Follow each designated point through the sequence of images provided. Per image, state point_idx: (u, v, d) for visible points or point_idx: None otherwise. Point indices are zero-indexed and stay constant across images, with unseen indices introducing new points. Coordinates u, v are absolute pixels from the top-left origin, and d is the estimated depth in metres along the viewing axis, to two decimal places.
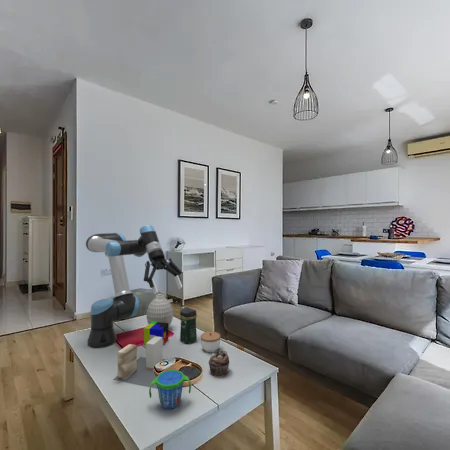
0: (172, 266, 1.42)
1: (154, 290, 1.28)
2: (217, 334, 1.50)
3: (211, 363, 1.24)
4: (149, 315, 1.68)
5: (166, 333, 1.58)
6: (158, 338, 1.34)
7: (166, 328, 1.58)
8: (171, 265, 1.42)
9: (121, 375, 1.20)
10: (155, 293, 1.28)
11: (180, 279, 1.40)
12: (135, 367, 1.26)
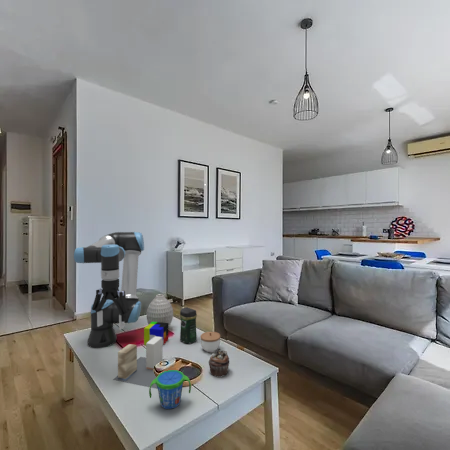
0: None
1: None
2: (217, 334, 1.50)
3: (211, 363, 1.24)
4: (149, 315, 1.68)
5: (166, 333, 1.58)
6: (158, 338, 1.34)
7: (166, 328, 1.58)
8: None
9: (121, 375, 1.20)
10: None
11: (123, 319, 1.23)
12: (135, 367, 1.26)
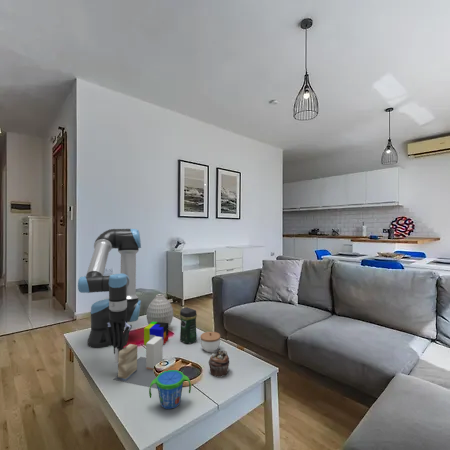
0: None
1: None
2: (217, 334, 1.50)
3: (211, 363, 1.24)
4: (149, 315, 1.68)
5: (166, 333, 1.58)
6: (158, 338, 1.34)
7: (166, 328, 1.58)
8: None
9: (121, 375, 1.20)
10: None
11: None
12: (135, 367, 1.26)
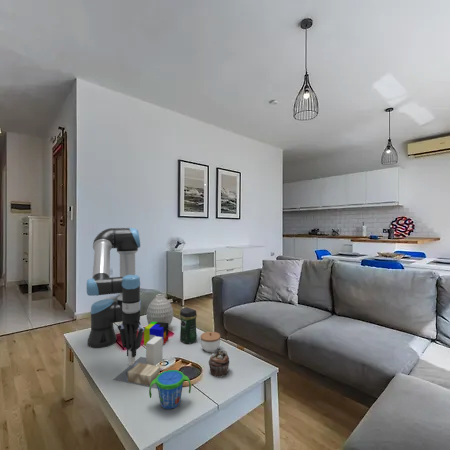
0: None
1: None
2: (217, 334, 1.50)
3: (211, 363, 1.24)
4: (149, 315, 1.68)
5: (166, 333, 1.58)
6: (158, 338, 1.34)
7: (166, 328, 1.58)
8: None
9: (129, 376, 1.19)
10: None
11: (133, 355, 1.22)
12: None
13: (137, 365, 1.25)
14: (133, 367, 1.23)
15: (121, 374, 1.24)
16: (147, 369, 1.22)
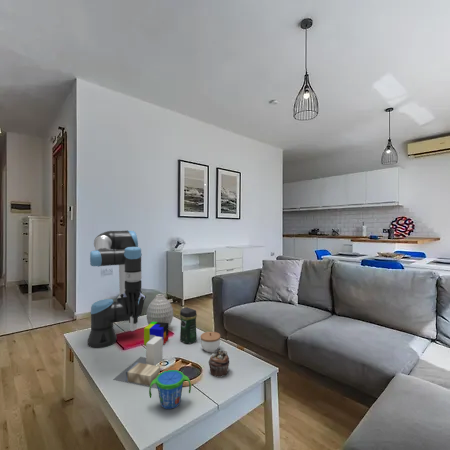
0: None
1: None
2: (217, 334, 1.50)
3: (211, 363, 1.24)
4: (149, 315, 1.68)
5: (166, 333, 1.58)
6: (158, 338, 1.34)
7: (166, 328, 1.58)
8: None
9: (129, 376, 1.19)
10: None
11: (135, 321, 1.30)
12: None
13: (137, 365, 1.25)
14: (133, 367, 1.23)
15: (121, 374, 1.24)
16: (147, 369, 1.22)
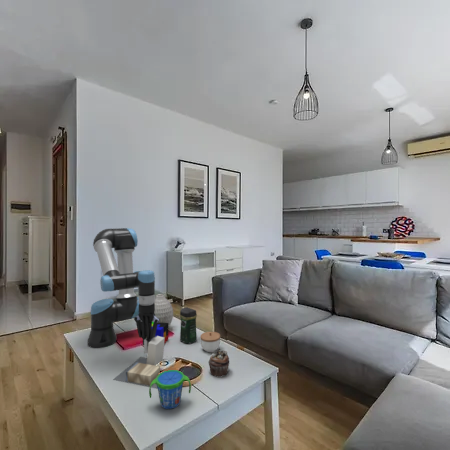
0: None
1: None
2: (217, 334, 1.50)
3: (211, 363, 1.24)
4: None
5: (166, 333, 1.58)
6: (160, 338, 1.34)
7: (166, 328, 1.58)
8: None
9: (129, 376, 1.19)
10: None
11: None
12: None
13: (137, 365, 1.25)
14: (133, 367, 1.23)
15: (121, 374, 1.24)
16: (147, 369, 1.22)
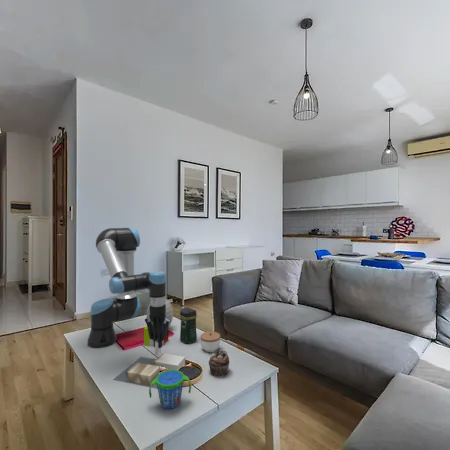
0: None
1: None
2: (217, 334, 1.50)
3: (211, 363, 1.24)
4: None
5: None
6: (183, 364, 1.31)
7: None
8: None
9: (129, 376, 1.19)
10: None
11: (160, 346, 1.31)
12: None
13: (137, 365, 1.25)
14: (133, 367, 1.23)
15: (121, 374, 1.24)
16: (147, 369, 1.22)
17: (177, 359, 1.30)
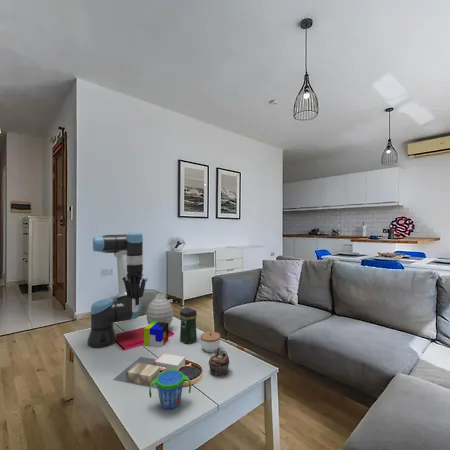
0: None
1: None
2: (217, 334, 1.50)
3: (211, 363, 1.24)
4: (149, 315, 1.68)
5: (166, 333, 1.58)
6: (183, 364, 1.31)
7: (166, 328, 1.58)
8: None
9: (129, 376, 1.19)
10: None
11: (137, 303, 1.36)
12: None
13: (137, 365, 1.25)
14: (133, 367, 1.23)
15: (121, 374, 1.24)
16: (147, 369, 1.22)
17: (177, 359, 1.30)
